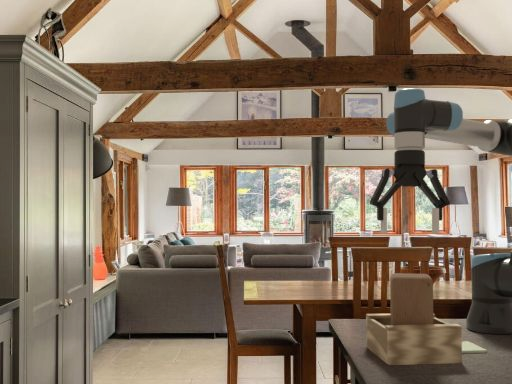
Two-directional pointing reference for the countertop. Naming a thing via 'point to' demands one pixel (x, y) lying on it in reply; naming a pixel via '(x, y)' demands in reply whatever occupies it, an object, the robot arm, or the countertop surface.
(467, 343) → the mat
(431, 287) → the wooden block
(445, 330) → the crate
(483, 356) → the countertop surface
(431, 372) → the countertop surface
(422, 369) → the countertop surface
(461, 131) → the robot arm
